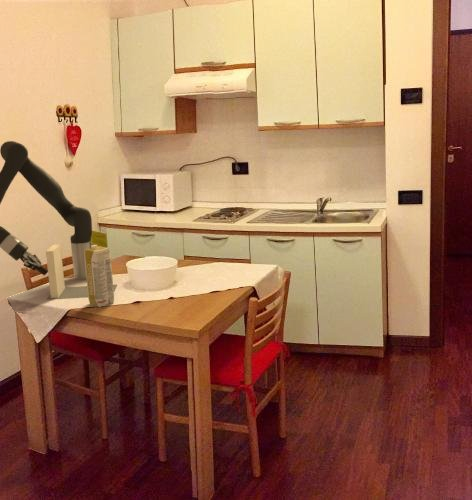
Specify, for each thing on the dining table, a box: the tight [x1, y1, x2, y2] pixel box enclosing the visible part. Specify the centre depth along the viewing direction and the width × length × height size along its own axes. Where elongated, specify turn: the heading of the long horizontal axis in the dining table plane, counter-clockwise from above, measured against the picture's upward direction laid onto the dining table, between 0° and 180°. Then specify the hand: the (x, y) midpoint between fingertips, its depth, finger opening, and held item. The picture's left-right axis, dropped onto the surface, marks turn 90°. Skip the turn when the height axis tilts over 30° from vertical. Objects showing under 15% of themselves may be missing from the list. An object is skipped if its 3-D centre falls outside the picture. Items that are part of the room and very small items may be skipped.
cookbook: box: [45, 243, 66, 298], centre depth 273 cm, size 3×14×20 cm, turn 3°
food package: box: [91, 230, 109, 248], centre depth 307 cm, size 15×1×20 cm, turn 41°
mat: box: [45, 284, 118, 301], centre depth 276 cm, size 27×18×1 cm, turn 93°
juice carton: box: [84, 244, 115, 308], centre depth 256 cm, size 9×8×24 cm
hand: (46, 273), depth 273 cm, fingers closed
